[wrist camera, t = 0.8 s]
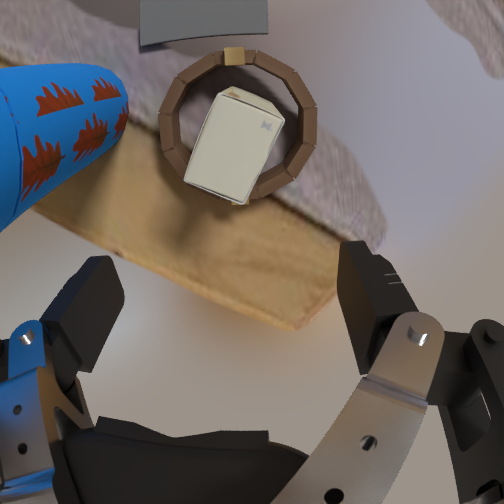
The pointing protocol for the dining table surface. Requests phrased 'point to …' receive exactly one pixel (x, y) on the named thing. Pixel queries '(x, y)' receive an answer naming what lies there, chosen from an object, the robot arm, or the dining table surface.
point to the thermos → (53, 128)
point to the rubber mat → (200, 19)
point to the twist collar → (291, 79)
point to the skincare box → (234, 144)
